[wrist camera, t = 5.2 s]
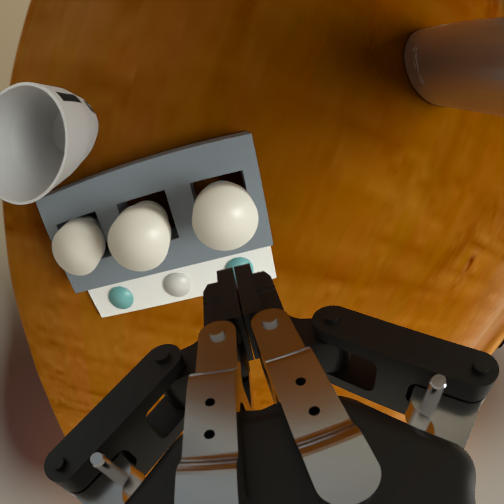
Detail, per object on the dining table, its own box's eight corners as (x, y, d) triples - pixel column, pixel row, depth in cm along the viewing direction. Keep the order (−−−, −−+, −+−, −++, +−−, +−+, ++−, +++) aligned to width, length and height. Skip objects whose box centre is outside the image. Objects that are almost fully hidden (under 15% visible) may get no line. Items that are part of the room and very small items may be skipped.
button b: (165, 188, 24) (157, 205, 20) (180, 238, 26) (176, 263, 22) (115, 203, 24) (98, 222, 20) (132, 250, 26) (120, 277, 22)
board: (246, 131, 26) (251, 133, 23) (267, 232, 30) (273, 245, 28) (49, 192, 25) (35, 201, 22) (84, 278, 30) (75, 293, 27)
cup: (124, 94, 22) (81, 88, 14) (103, 179, 26) (58, 216, 17) (49, 83, 20) (-13, 80, 11) (33, 164, 23) (-27, 193, 15)
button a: (243, 168, 24) (251, 181, 20) (254, 220, 26) (263, 242, 22) (187, 182, 24) (184, 197, 20) (201, 232, 26) (201, 257, 22)
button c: (103, 202, 26) (86, 219, 22) (119, 245, 28) (107, 269, 24) (64, 215, 26) (44, 234, 21) (81, 256, 28) (65, 280, 24)
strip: (268, 241, 31) (270, 244, 30) (275, 274, 33) (276, 278, 32) (88, 285, 30) (86, 289, 29) (103, 314, 32) (101, 318, 31)
